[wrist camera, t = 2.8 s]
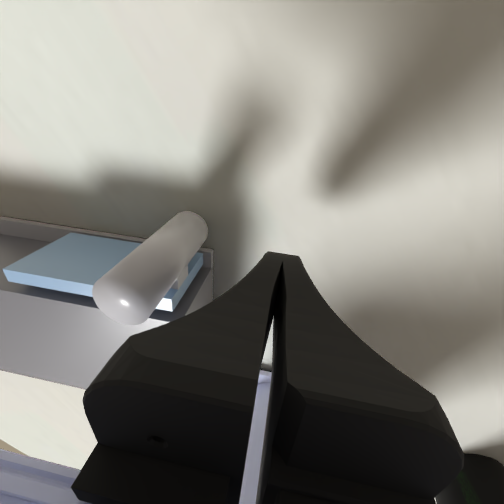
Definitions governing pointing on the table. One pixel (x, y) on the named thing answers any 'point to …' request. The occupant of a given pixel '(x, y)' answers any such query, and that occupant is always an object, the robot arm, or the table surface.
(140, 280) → the door
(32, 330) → the housing
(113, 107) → the table surface
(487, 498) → the cup
